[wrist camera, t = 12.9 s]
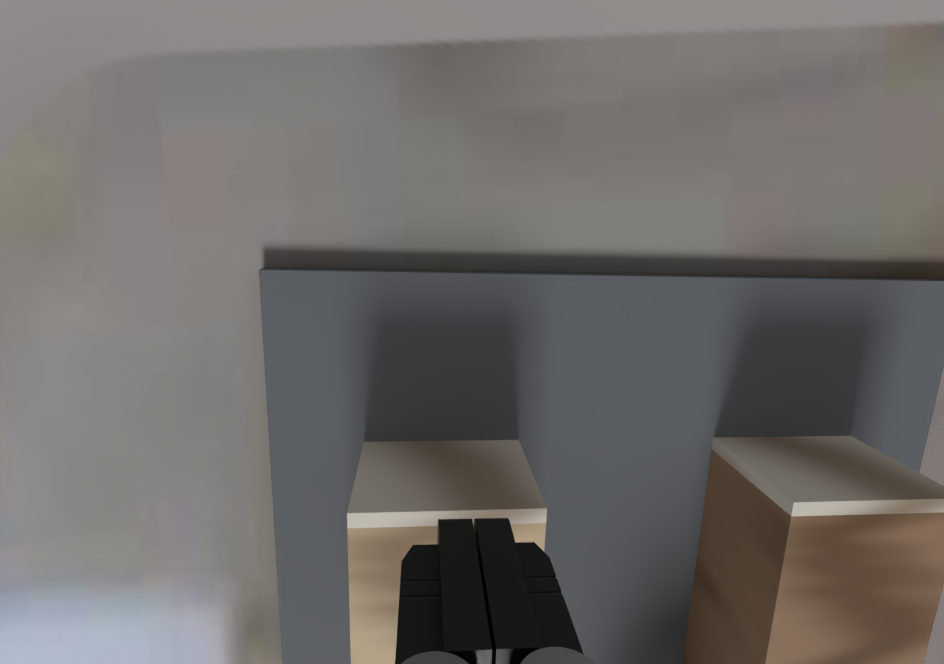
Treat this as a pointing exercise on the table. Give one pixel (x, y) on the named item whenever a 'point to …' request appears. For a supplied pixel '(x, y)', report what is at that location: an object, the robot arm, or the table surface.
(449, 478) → the oak block
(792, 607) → the walnut block
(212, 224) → the table surface
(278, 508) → the mat
